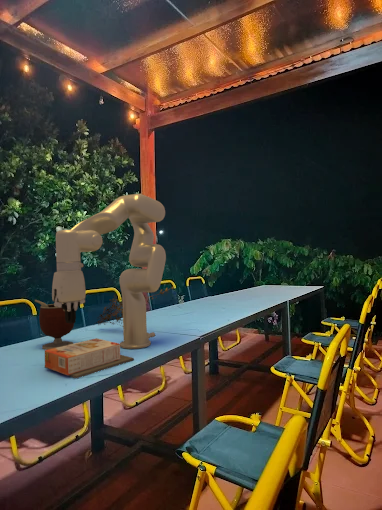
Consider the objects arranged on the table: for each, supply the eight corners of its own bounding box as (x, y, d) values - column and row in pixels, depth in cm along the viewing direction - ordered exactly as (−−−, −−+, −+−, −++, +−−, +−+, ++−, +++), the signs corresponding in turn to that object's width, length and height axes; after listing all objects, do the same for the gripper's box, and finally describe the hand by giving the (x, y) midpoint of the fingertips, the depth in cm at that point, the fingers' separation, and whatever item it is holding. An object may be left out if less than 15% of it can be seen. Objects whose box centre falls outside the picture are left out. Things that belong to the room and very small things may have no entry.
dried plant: (68, 297, 173) (138, 257, 154) (111, 296, 200) (175, 261, 182) (85, 359, 164) (161, 324, 146) (128, 348, 192) (196, 318, 174)
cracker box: (43, 349, 118) (96, 337, 134) (44, 367, 118) (97, 353, 134) (67, 356, 109) (121, 342, 125) (67, 376, 109) (121, 360, 125)
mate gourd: (74, 340, 159) (73, 295, 159) (76, 348, 146) (75, 299, 146) (36, 344, 153) (35, 298, 153) (35, 352, 140) (33, 301, 140)
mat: (101, 352, 139) (101, 349, 139) (133, 360, 127) (133, 357, 127) (44, 367, 121) (44, 365, 121) (76, 378, 109) (76, 376, 109)
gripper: (82, 266, 126) (83, 318, 127) (41, 268, 115) (43, 325, 115) (94, 266, 122) (96, 320, 122) (53, 268, 110) (55, 328, 110)
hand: (70, 322), depth 118 cm, fingers closed
